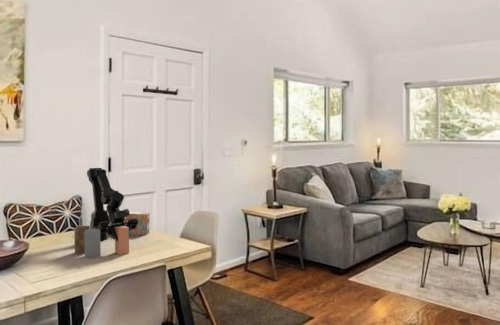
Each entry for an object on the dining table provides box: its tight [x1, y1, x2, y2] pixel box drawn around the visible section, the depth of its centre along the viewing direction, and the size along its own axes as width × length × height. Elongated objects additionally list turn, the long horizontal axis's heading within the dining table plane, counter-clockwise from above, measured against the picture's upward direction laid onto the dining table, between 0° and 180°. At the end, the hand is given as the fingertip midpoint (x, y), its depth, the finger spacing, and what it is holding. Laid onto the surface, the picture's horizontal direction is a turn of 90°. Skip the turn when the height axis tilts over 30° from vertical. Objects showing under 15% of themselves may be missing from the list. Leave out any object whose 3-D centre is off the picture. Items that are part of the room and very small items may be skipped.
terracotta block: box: [114, 226, 130, 256], centre depth 209 cm, size 5×5×12 cm
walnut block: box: [74, 225, 90, 255], centre depth 210 cm, size 5×5×12 cm
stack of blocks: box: [110, 211, 151, 236], centre depth 252 cm, size 21×6×12 cm, turn 90°
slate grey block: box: [84, 228, 102, 259], centre depth 203 cm, size 5×5×12 cm
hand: (123, 239), depth 208 cm, fingers closed on terracotta block, 5 cm apart
